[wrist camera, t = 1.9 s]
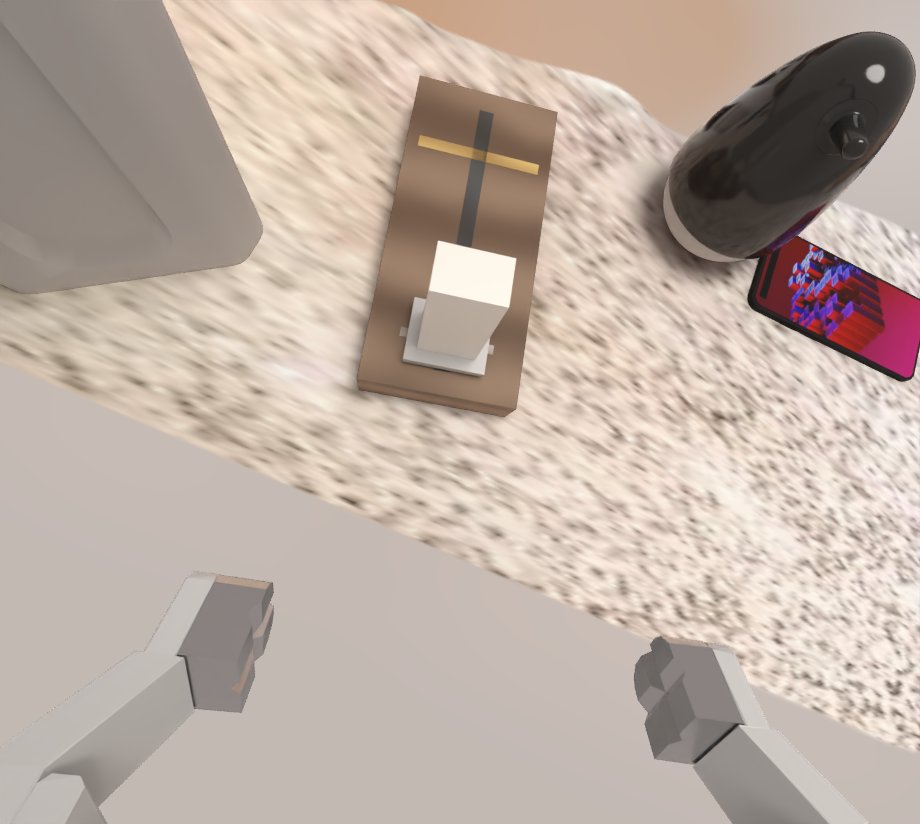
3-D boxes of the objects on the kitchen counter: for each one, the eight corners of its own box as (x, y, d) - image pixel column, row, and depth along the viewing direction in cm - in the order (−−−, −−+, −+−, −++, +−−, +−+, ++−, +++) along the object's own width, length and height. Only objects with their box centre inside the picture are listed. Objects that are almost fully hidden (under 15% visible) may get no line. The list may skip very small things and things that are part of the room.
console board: (504, 416, 34) (516, 408, 31) (359, 389, 32) (356, 378, 29) (544, 141, 38) (557, 111, 35) (417, 109, 37) (420, 75, 34)
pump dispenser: (625, 250, 37) (783, 88, 22) (662, 143, 39) (829, -69, 25) (742, 304, 38) (970, 181, 23) (772, 196, 40) (997, 21, 25)
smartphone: (913, 384, 39) (750, 303, 37) (901, 387, 39) (741, 308, 38) (930, 302, 40) (774, 222, 39) (918, 306, 41) (766, 228, 40)
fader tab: (482, 377, 30) (521, 327, 21) (402, 361, 30) (409, 304, 21) (491, 317, 31) (533, 246, 22) (414, 300, 30) (425, 220, 22)
